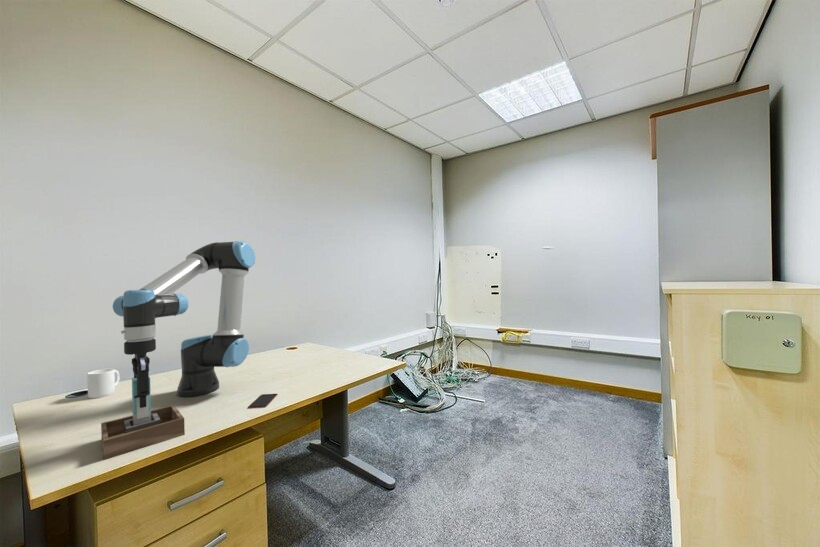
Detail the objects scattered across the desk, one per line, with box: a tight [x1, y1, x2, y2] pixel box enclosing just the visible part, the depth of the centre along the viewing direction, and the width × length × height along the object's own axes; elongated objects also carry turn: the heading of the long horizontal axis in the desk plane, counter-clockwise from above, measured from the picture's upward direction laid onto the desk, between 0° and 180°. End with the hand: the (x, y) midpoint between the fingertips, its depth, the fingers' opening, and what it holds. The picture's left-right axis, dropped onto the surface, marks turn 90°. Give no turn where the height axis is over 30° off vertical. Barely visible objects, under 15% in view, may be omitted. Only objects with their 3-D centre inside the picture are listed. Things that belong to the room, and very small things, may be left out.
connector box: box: [100, 404, 186, 460], centre depth 98 cm, size 16×18×5 cm
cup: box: [86, 367, 120, 399], centre depth 139 cm, size 8×12×10 cm
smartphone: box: [247, 393, 278, 410], centre depth 124 cm, size 7×1×14 cm
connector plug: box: [131, 376, 152, 426], centre depth 99 cm, size 4×4×14 cm
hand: (141, 415), depth 99 cm, fingers closed on connector plug, 4 cm apart
